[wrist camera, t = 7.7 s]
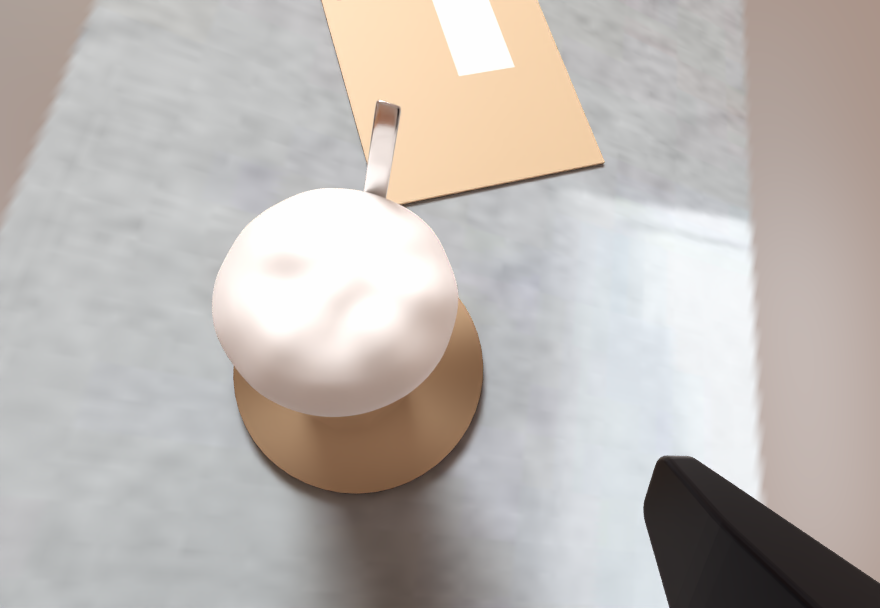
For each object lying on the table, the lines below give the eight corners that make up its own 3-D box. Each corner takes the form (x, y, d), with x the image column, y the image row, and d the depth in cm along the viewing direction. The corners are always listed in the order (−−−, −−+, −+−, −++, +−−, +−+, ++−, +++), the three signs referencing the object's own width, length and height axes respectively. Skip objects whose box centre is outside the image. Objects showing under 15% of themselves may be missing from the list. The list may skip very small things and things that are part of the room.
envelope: (603, 163, 23) (604, 161, 23) (379, 208, 21) (379, 207, 21) (509, -64, 26) (510, -66, 26) (310, -40, 25) (310, -42, 24)
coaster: (512, 452, 19) (514, 452, 18) (261, 526, 17) (259, 527, 17) (443, 233, 21) (445, 229, 21) (217, 282, 20) (214, 278, 19)
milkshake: (447, 313, 20) (513, 140, 10) (399, 471, 18) (427, 435, 8) (319, 274, 20) (267, 64, 10) (258, 428, 18) (128, 343, 8)
